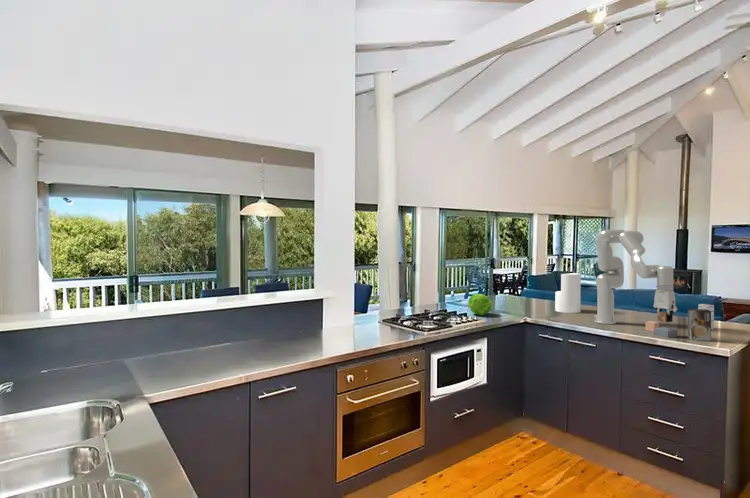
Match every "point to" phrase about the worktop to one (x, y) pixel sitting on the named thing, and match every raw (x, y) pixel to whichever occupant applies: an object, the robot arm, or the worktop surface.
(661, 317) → the walnut cube
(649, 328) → the terracotta cube
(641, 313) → the worktop surface
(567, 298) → the cylinder
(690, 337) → the coffee box
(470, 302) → the lettuce
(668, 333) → the base block
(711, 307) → the syrup box
